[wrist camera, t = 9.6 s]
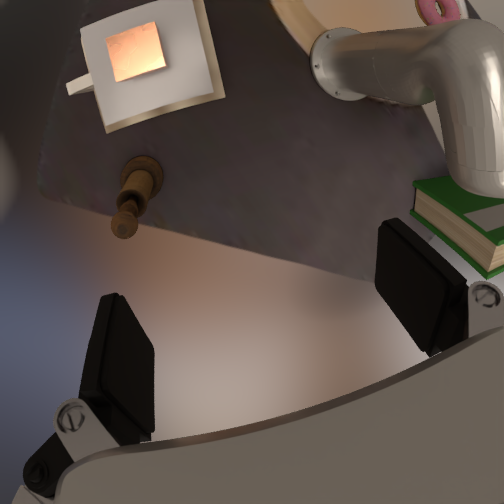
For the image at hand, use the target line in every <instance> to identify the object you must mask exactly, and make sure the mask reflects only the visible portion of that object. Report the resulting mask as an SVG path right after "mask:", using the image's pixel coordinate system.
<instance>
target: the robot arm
mask: <svg viewBox="0 0 504 504" xmlns="http://www.w3.org/2000/svg"><path fill="white" fill-rule="evenodd" d="M326 36H327V37H328V38H326ZM315 65H316V68H315ZM310 67H311V71H312V74H313V77H314V78H315V80H316V82H317V83H318V85H319V86H320V87H321V88H322V89H323V90H324V91H325V92H326V93H327V94H329V95H331V96H332V97H335V98H337V99H341V100H346V101H354V100H359V99H362V98H364V97H366V96H368V95H369V96H374V97H378V98H383V99H388V100H392V101H396V102H400V103H405V104H410V105H424V104H427V103H430V102H432V101H434V100H435V101H436V105H437V110H438V113H439V117H440V122H441V128H442V134H443V141H444V148H445V155H446V161H447V166H448V170H449V173H450V175H451V177H452V179H453V180H454V181H455V183H456V184H457V185H459V186H460V187H461V188H463V189H464V190H466V191H468V192H471V193H473V194H477V195H481V196H486V197H493V198H503V199H504V33H503V32H502V31H501V30H500V29H499V28H498V27H496V26H495V25H493V24H491V23H489V22H487V21H483V20H479V19H458V20H452V21H448V22H444V23H439V24H435V25H430V26H424V27H417V28H408V29H396V30H387V31H377V32H369V33H361V32H359V31H357V30H354V29H351V28H343V27H342V28H335V29H331V30H328V31H326V32H324V33H323V34H322V35H320V36H319V37H318V39H317V40H316V41H315V43H314V45H313V47H312V50H311V53H310ZM335 92H337V93H336V94H335ZM466 282H467V280H466V279H465V278H464V277H463V276H462V275H461V274H460V273H459V272H458V271H457V270H456V269H455V268H454V267H453V266H452V265H451V264H450V263H449V262H448V261H447V260H446V259H444V258H443V257H442V256H441V255H440V254H439V253H438V252H437V251H436V250H435V249H434V248H432V247H431V246H430V245H429V244H428V243H427V242H426V241H425V240H423V239H422V238H421V237H420V236H419V235H418V234H417V233H415V232H414V231H413V230H412V229H411V228H410V227H408V226H407V225H406V224H405V223H404V222H402V221H401V220H400V219H399V218H392V219H389V220H385V221H383V222H382V224H381V226H379V228H378V245H377V260H376V273H375V287H376V289H377V291H378V292H379V294H380V295H381V297H382V298H383V299H384V300H385V302H386V303H387V305H388V306H389V307H390V309H391V310H392V311H393V313H394V314H395V315H396V317H397V318H398V319H399V321H400V322H401V323H402V325H403V326H404V328H405V329H406V331H407V332H408V333H409V335H410V336H411V337H412V339H413V340H414V342H415V343H416V345H417V346H418V347H419V349H420V350H421V351H422V352H424V351H425V352H426V354H427V355H428V356H429V359H427V360H425V361H423V362H421V363H419V364H417V365H415V366H413V367H410V368H408V369H406V370H404V371H402V372H400V373H397V374H395V375H393V376H391V377H388V378H386V379H384V380H381V381H379V382H377V383H374V384H372V385H369V386H367V387H364V388H362V389H359V390H357V391H354V392H352V393H349V394H346V395H343V396H341V397H338V398H335V399H332V400H330V401H327V402H324V403H321V404H318V405H315V406H312V407H309V408H305V409H302V410H299V411H296V412H292V413H290V414H286V415H282V416H279V417H275V418H272V419H268V420H264V421H260V422H256V423H252V424H248V425H244V426H239V427H235V428H230V429H226V430H221V431H216V432H211V433H206V434H201V435H194V436H188V437H182V438H176V439H170V440H163V441H156V442H148V443H140V442H145V441H151V433H153V432H154V431H155V418H154V417H155V415H154V356H155V355H154V354H155V353H154V348H153V345H152V343H151V342H150V340H149V338H148V337H147V335H146V334H145V332H144V330H143V328H142V327H141V325H140V324H139V322H138V320H137V318H136V317H135V315H134V313H133V311H132V310H131V308H130V306H129V304H128V303H127V301H126V299H125V297H124V296H123V295H121V296H119V294H118V293H112V294H108V295H104V296H102V297H101V299H100V302H99V306H98V310H97V314H96V318H95V321H94V326H93V330H92V334H91V338H90V340H89V344H88V349H87V353H86V358H85V363H84V368H83V373H82V379H81V385H80V390H79V397H78V398H72V399H69V400H66V401H65V402H63V403H62V404H61V405H60V406H59V407H58V409H57V410H56V412H55V415H54V420H53V423H54V428H55V430H56V432H55V433H54V434H53V435H52V436H51V437H50V438H49V439H48V440H47V441H46V442H45V443H44V444H43V445H42V446H41V447H40V448H39V449H38V450H37V451H36V452H35V453H34V454H33V455H32V456H31V457H30V458H29V459H28V461H27V462H26V464H25V466H24V469H23V478H24V482H25V486H22V485H21V486H20V488H19V490H18V491H17V494H16V495H15V498H14V500H13V502H12V504H504V296H503V293H502V292H501V291H500V289H499V288H497V287H496V286H495V285H493V284H491V283H489V282H485V281H478V282H474V283H473V284H471V285H470V287H468V286H467V284H466ZM439 352H441V353H439ZM438 353H439V354H438ZM436 354H437V355H436ZM434 355H435V356H434ZM432 356H433V357H432ZM430 357H431V358H430Z"/></svg>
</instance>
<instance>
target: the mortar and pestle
mask: <svg viewBox="0 0 504 504" xmlns="http://www.w3.org/2000/svg"><path fill="white" fill-rule="evenodd" d="M120 182H121V187H122V190H121V192H120V194H119V195H118V197H117V200H116V206H117V209H118V211H119V212H118V213H116V214H115V215H114V217H113V218H112V221H111V229H112V232H113V233H114V235H115V236H117V237H118V238H121V239H127V238H130V237H132V236H133V235H134V234H135V233H136V231H137V229H138V220H137V218H138V217H140V216H142V215H143V214H144V212H145V211H146V208H147V204H148V200H149V199H152V198H153V197H154V196H156V195H157V193H158V192H159V191H160V189H161V186H162V182H163V172H162V169H161V166H160V165H159V164H158V162H157V161H155V160H154V159H152V158H150V157H147V156H139V157H136V158H134V159H132V160H130V161H129V162H128V163H127V165H126V166H125V168H124V170H123V172H122V174H121V179H120Z"/></svg>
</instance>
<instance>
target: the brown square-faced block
mask: <svg viewBox="0 0 504 504" xmlns="http://www.w3.org/2000/svg"><path fill="white" fill-rule="evenodd" d="M105 39H106V43H107V47H108V51H109V56H110V60H111V64H112V68H113V71H114V75H115V79H116V82H126V81H128V80H131V79H134V78H137V77H140V76H143V75H146V74H149V73H152V72H155V71H158V70H162V69H165V68H168V65H167V61H166V57H165V53H164V48H163V44H162V40H161V36H160V32H159V28H158V26H157V24H156V23H155V21H154V22H151V23H147V24H144V25H141V26H138V27H135V28H132V29H129V30H126V31H124V32H121V33H118V34H115V35H113V36H110V37H108V38H105Z"/></svg>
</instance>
